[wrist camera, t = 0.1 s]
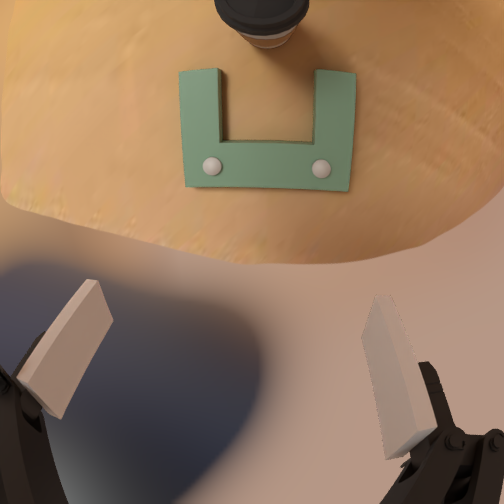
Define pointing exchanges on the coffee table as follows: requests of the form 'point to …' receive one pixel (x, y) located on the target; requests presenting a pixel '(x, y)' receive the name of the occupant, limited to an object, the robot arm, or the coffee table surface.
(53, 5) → the coffee table surface
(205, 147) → the mint green u-shaped piece
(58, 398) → the robot arm
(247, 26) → the coffee cup
